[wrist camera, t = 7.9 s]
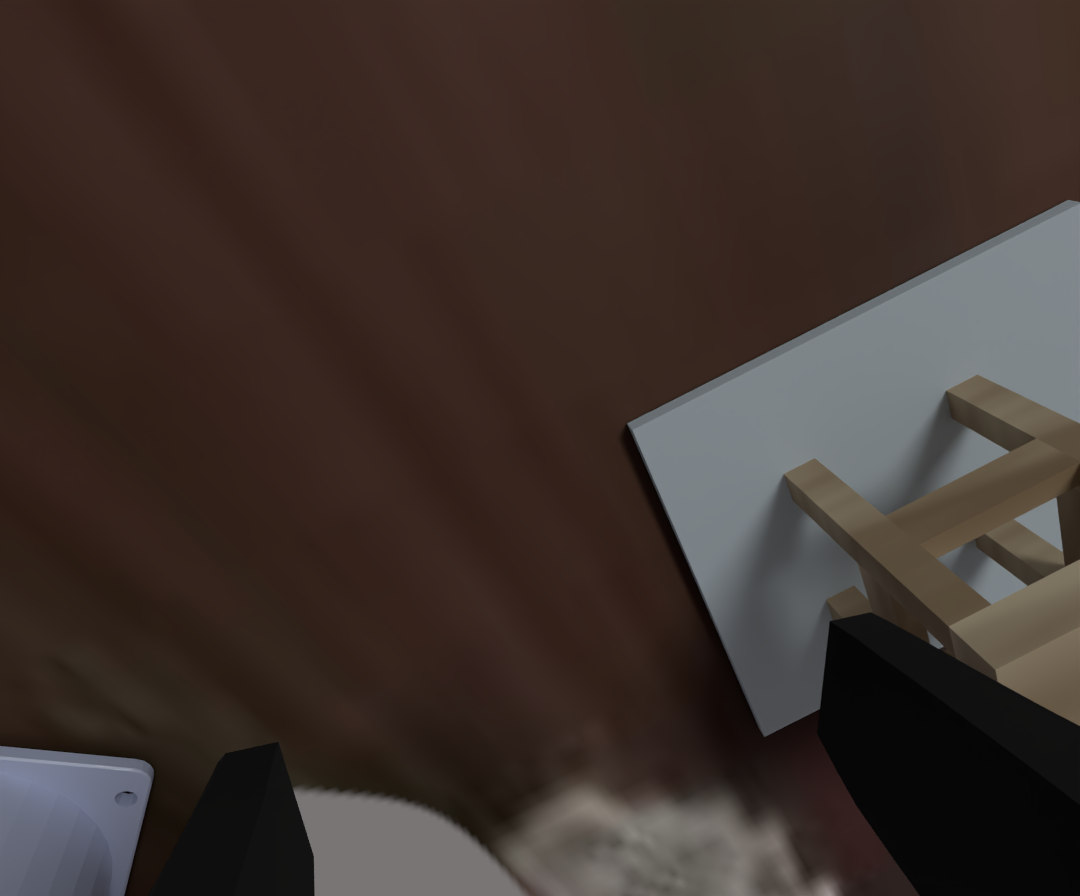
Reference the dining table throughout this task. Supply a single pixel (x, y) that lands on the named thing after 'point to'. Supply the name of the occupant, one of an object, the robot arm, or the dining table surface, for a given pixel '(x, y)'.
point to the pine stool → (988, 517)
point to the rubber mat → (859, 444)
